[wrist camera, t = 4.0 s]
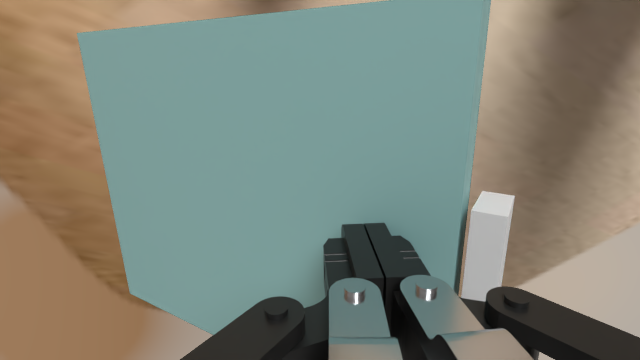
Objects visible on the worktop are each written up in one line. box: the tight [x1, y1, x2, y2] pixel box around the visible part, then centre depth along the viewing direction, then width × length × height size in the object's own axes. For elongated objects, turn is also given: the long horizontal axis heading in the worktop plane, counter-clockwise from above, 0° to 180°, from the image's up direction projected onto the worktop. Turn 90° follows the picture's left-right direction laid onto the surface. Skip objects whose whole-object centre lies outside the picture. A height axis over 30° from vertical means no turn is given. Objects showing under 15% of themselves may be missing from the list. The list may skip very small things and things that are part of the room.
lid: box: [77, 0, 515, 335], centre depth 17 cm, size 21×16×2 cm
